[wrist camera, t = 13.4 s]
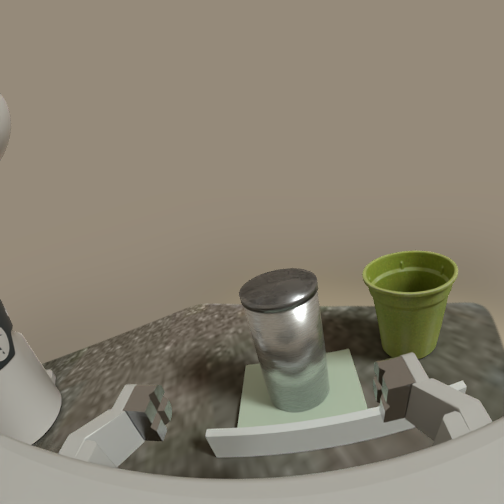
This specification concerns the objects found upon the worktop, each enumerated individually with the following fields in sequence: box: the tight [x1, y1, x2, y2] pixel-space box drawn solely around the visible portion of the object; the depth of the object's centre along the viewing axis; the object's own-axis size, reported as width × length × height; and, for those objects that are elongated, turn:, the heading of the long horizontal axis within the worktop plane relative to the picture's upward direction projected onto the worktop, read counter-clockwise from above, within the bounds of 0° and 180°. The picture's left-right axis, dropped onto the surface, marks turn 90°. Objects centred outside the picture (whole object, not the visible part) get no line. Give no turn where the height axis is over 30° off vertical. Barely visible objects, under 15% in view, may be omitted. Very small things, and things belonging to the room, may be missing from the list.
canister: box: [239, 268, 330, 413], centre depth 25 cm, size 6×6×11 cm
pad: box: [237, 349, 367, 428], centre depth 26 cm, size 11×10×1 cm
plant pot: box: [362, 251, 458, 359], centre depth 27 cm, size 9×9×9 cm
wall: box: [205, 381, 467, 457], centre depth 19 cm, size 20×1×3 cm, turn 86°
